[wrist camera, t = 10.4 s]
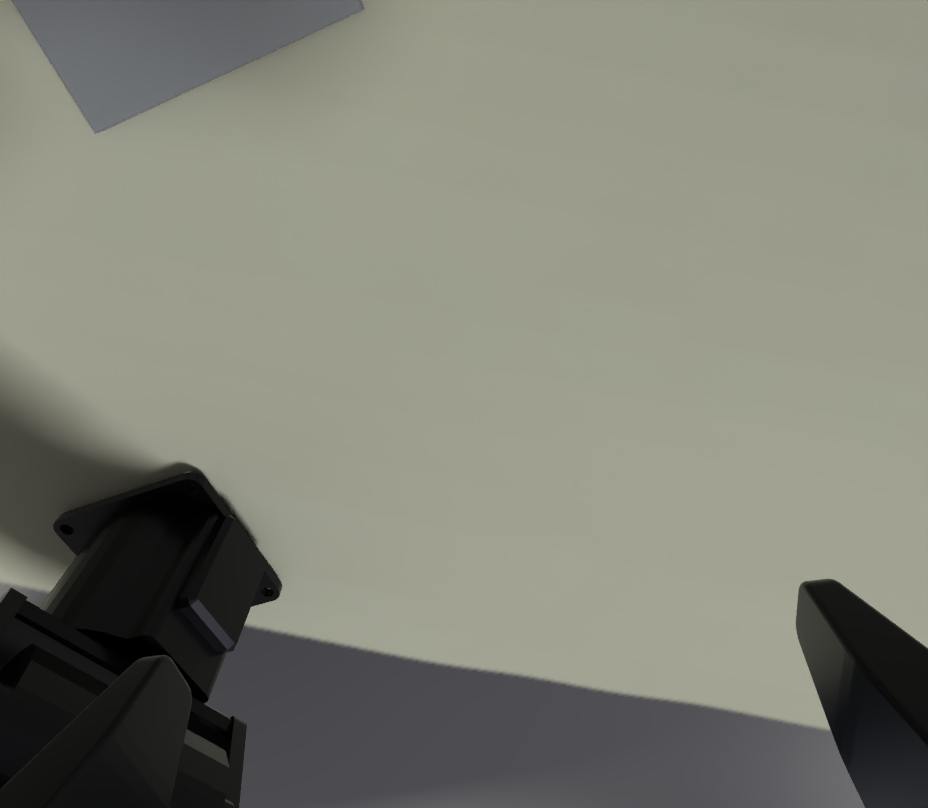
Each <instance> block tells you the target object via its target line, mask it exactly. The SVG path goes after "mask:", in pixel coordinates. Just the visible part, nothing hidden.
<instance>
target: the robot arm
mask: <svg viewBox="0 0 928 808" xmlns="http://www.w3.org/2000/svg"><path fill="white" fill-rule="evenodd" d="M189 484H190V485H193V486H195V487H196V488H197V489H194V488H191V487H190V486H189ZM70 526H71V527H70ZM53 527H54V530H55V532H56V533H57V534H58V536H59V537H60V538H61V539H62V540H63V541H64V542H65V543H66V544H67V545H68V546H69V548H70V549H71V550H72V551H73V552H74V553H75V554H76V555H77V557H76V558H75V559H74V561H73V562H72V564H71V565H70V566H69V568H68V569H67V570H66V572H65V573H64V575H63V576H62V577H61V579H60V580H59V581H58V583H57V584H56V586H55V587H54V588H53V590H52V591H51V592H50V594H49V595H48V597H47V598H46V599H45V601H44V602H43V603H42V605H41V606H40V608H39V607H37V606H35V605H34V604H32V603H30V602H28V601H27V600H26V599H27V597H26V596H24V595H23V594H21V593H20V592H18V591H16V590H14V589H13V588H10V589H9V590H8V591H7V592H6V593H5V594H4V595H3V596H2V597H1V598H0V808H239V802H240V791H241V780H242V770H243V760H244V749H245V739H246V728H247V724H246V723H244V722H242V721H240V720H239V719H237V718H235V717H234V716H232V717H230V718H229V717H228V716H226V715H224V714H223V713H221V712H219V711H217V710H215V709H214V708H212V707H210V706H208V705H207V704H205V702H207V701H208V699H209V696H210V694H211V691H212V688H213V686H214V683H215V681H216V678H217V676H218V673H219V671H220V668H221V666H222V663H223V661H224V658H225V655H226V653H227V652H230V651H233V650H234V649H235V647H236V644H237V642H238V639H239V636H240V634H241V631H242V629H243V626H244V623H245V621H246V618H247V615H248V613H249V610H250V608H251V607H252V606H255V605H259V604H263V603H266V602H270V601H274V600H276V599H277V598H278V597H279V595H280V592H281V590H282V584H281V581H280V580H279V579H278V577H277V576H276V575H275V573H274V572H273V570H272V569H271V568H270V566H269V565H268V564H267V562H266V560H265V559H264V557H263V556H262V555H261V553H260V552H259V551H258V549H257V548H256V546H255V545H254V544H253V542H252V541H251V540H250V538H249V537H248V535H247V534H246V533H245V531H244V530H243V529H242V527H241V526H240V524H239V523H238V522H237V520H236V519H235V518H234V517H233V515H232V514H231V513H230V511H229V510H228V509H227V507H226V506H225V504H224V503H223V502H222V500H221V499H220V498H219V496H218V495H217V493H216V492H215V491H214V489H213V488H212V487H211V485H210V484H209V482H208V481H207V480H206V479H205V478H204V477H203V476H202V475H200V474H198V473H194V472H190V473H185V474H182V475H179V476H176V477H173V478H170V479H167V480H164V481H161V482H157V483H154V484H151V485H148V486H145V487H142V488H139V489H136V490H133V491H130V492H127V493H124V494H121V495H118V496H115V497H112V498H109V499H105V500H102V501H99V502H96V503H93V504H90V505H87V506H84V507H81V508H78V509H75V510H72V511H69V512H66V513H63V514H62V515H60V516H59V518H58V519H57V520H56V521H55V523H54V525H53ZM267 588H270V589H267ZM796 630H797V635H798V639H799V642H800V645H801V648H802V651H803V654H804V656H805V659H806V662H807V665H808V668H809V670H810V673H811V676H812V679H813V681H814V684H815V687H816V690H817V693H818V695H819V698H820V701H821V704H822V707H823V709H824V712H825V715H826V718H827V720H828V723H829V726H830V729H831V732H832V734H833V737H834V740H835V742H836V745H837V747H838V750H839V753H840V755H841V758H842V760H843V762H844V764H845V766H846V769H847V771H848V773H849V775H850V777H851V779H852V781H853V783H854V785H855V787H856V789H857V792H858V793H859V795H860V798H861V800H862V802H863V804H864V806H865V808H928V648H927V647H925V646H924V645H923V644H921V643H920V642H919V641H917V640H916V639H915V638H913V637H912V636H911V635H909V634H908V633H907V632H905V631H904V630H903V629H901V628H900V627H898V626H897V625H896V624H894V623H893V622H892V621H890V620H889V619H888V618H886V617H885V616H884V615H882V614H881V613H880V612H878V611H877V610H876V609H874V608H873V607H872V606H870V605H869V604H868V603H866V602H865V601H864V600H862V599H861V598H859V597H858V596H857V595H855V594H854V593H853V592H851V591H850V590H849V589H847V588H846V587H845V586H843V585H842V584H841V583H839V582H838V581H835V580H833V579H822V580H813V581H805V582H803V583H802V584H801V585H800V587H799V592H798V604H797V615H796Z"/></svg>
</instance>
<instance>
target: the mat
mask: <svg viewBox="0 0 928 808" xmlns="http://www.w3.org/2000/svg"><path fill="white" fill-rule="evenodd" d="M12 2H13V3H14V5H15V7H16V8H17V10H18V11H19V13H20V15H21V16H22V18H23V19H24V21H25V23H26V24H27V26H28V27H29V29H30V30H31V32H32V34H33V35H34V37H35V38H36V40H37V42H38V43H39V45H40V46H41V48H42V50H43V51H44V53H45V54H46V56H47V58H48V59H49V61H50V62H51V64H52V66H53V67H54V69H55V70H56V72H57V74H58V75H59V77H60V78H61V80H62V82H63V83H64V85H65V86H66V88H67V89H68V91H69V93H70V94H71V96H72V97H73V99H74V101H75V102H76V104H77V105H78V107H79V109H80V110H81V112H82V113H83V115H84V117H85V118H86V120H87V121H88V123H89V125H90V126H91V128H92V129H93V131H94V133H95V134H96V133H99V132H101V131H104V130H106V129H108V128H110V127H112V126H115V125H117V124H119V123H121V122H123V121H125V120H127V119H130V118H132V117H134V116H136V115H138V114H140V113H142V112H145V111H147V110H149V109H151V108H153V107H155V106H157V105H160V104H162V103H164V102H166V101H168V100H170V99H172V98H175V97H177V96H179V95H181V94H183V93H185V92H188V91H190V90H192V89H194V88H196V87H198V86H200V85H203V84H205V83H207V82H209V81H211V80H213V79H215V78H218V77H220V76H222V75H224V74H226V73H228V72H230V71H233V70H235V69H237V68H239V67H241V66H243V65H245V64H248V63H250V62H252V61H254V60H256V59H258V58H261V57H263V56H265V55H267V54H269V53H271V52H273V51H276V50H278V49H280V48H282V47H284V46H286V45H288V44H291V43H293V42H295V41H297V40H299V39H301V38H303V37H306V36H308V35H310V34H312V33H314V32H316V31H318V30H321V29H323V28H325V27H327V26H329V25H331V24H333V23H336V22H338V21H340V20H342V19H344V18H346V17H349V16H351V15H353V14H355V13H357V12H359V11H361V10H364V6H363V4H362V1H361V0H12Z"/></svg>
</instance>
